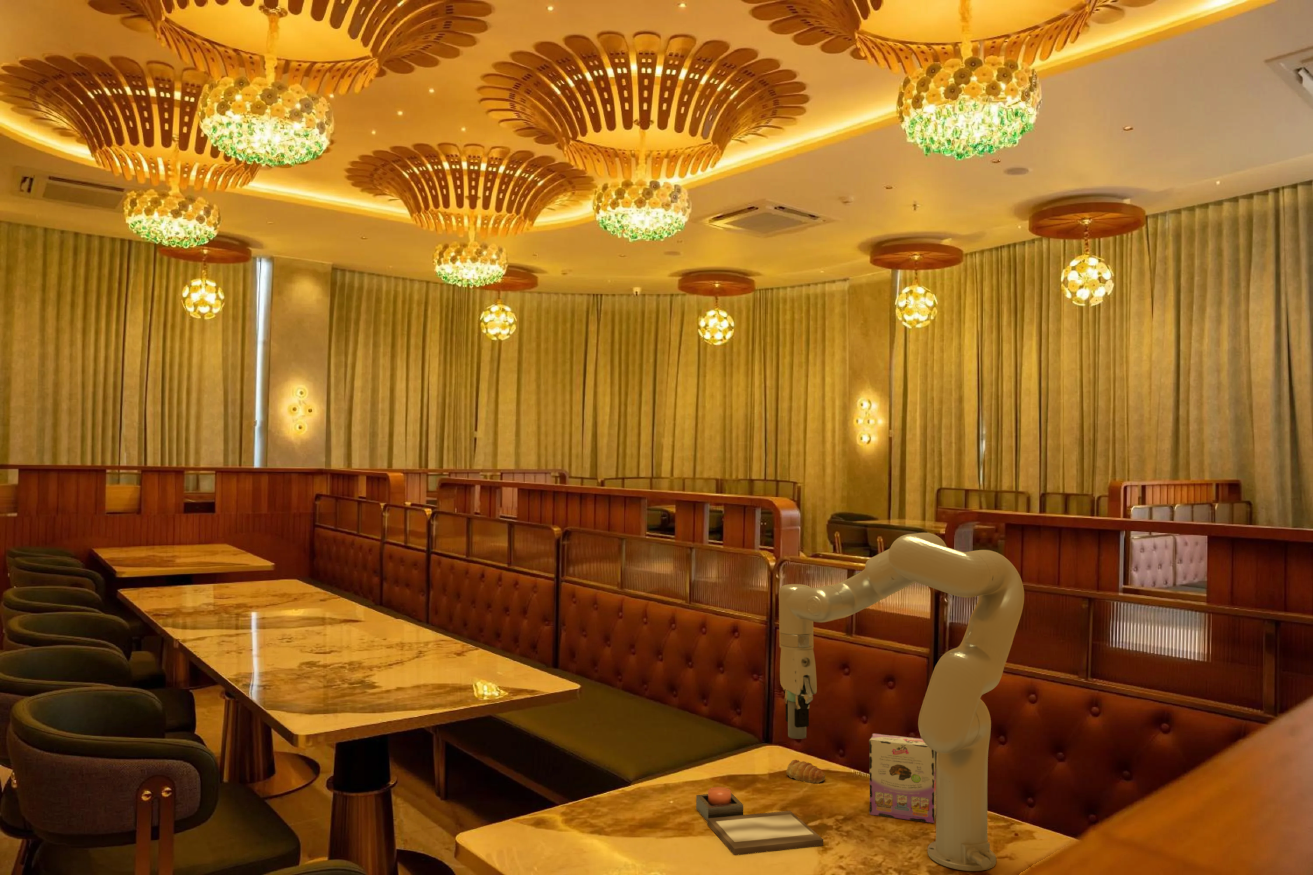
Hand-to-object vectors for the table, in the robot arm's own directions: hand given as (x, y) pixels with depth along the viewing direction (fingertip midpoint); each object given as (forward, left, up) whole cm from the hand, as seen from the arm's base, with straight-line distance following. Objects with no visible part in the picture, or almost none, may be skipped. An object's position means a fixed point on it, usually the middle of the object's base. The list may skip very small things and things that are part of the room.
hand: (797, 723), depth 199 cm
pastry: (+20, -12, -20) cm, 30 cm away
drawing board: (-11, +12, -19) cm, 25 cm away
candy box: (-8, -22, -19) cm, 30 cm away
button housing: (+2, +17, -19) cm, 26 cm away
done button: (+2, +17, -17) cm, 24 cm away
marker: (0, 0, -3) cm, 3 cm away
